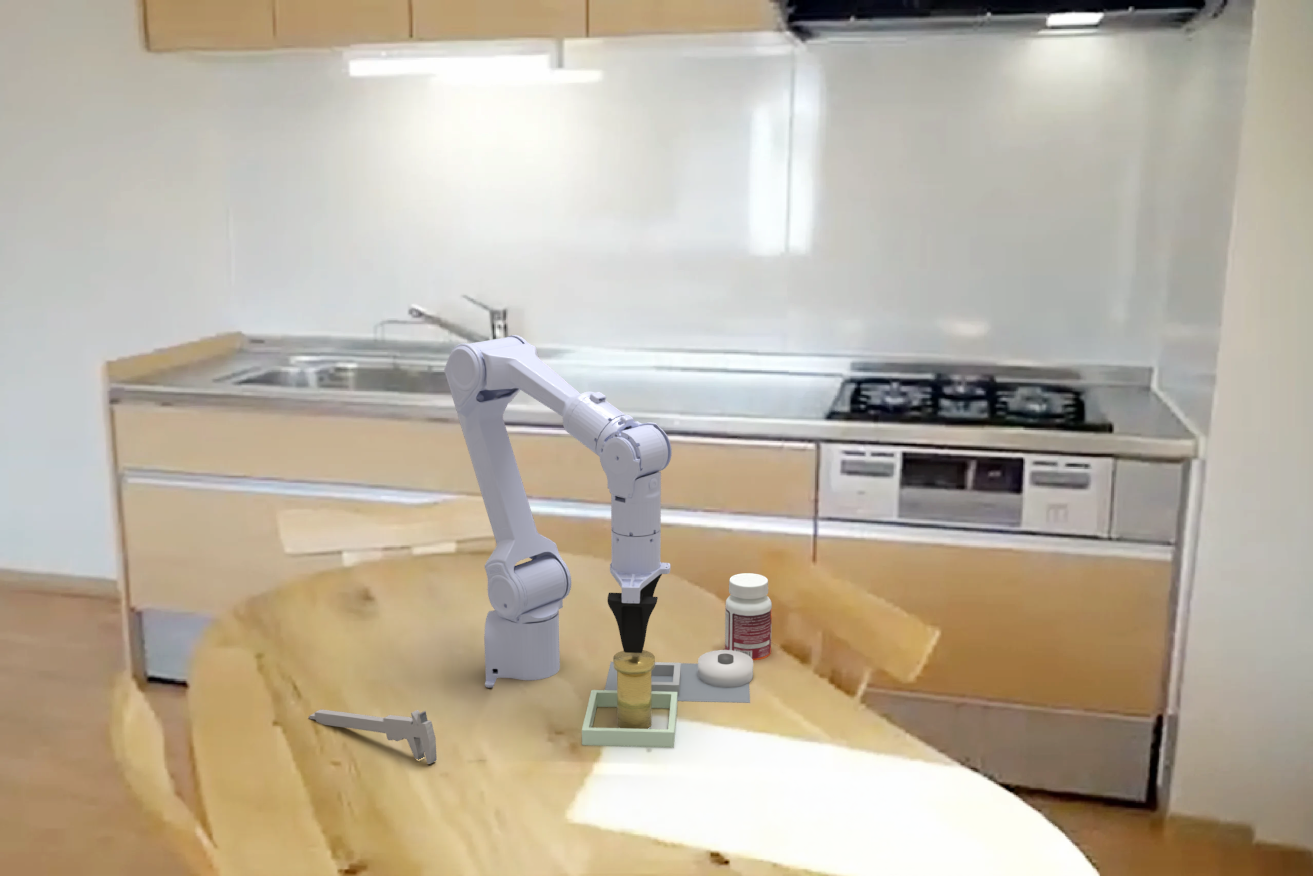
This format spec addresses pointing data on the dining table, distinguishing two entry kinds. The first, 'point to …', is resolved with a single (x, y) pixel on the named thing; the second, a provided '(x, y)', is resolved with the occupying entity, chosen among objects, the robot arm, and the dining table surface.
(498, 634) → the robot arm
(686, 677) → the board
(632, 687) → the lock pin
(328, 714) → the caliper
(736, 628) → the pill bottle
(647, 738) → the tray
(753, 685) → the dining table surface
